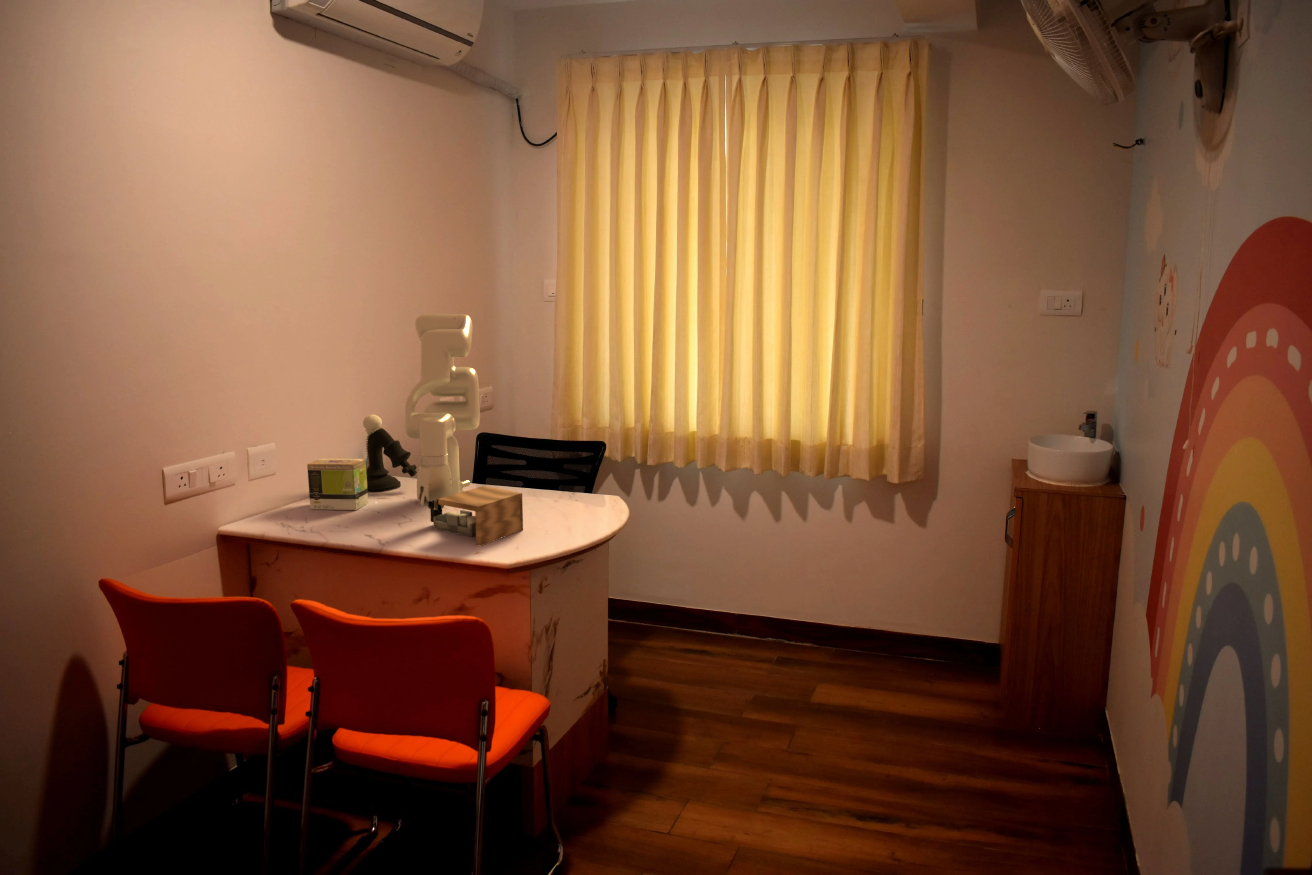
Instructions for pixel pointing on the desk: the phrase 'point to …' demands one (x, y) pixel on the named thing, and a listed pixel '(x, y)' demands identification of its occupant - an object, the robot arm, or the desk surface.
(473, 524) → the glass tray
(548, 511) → the desk surface
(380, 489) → the sculpture
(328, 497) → the tea box
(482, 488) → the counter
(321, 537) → the desk surface
